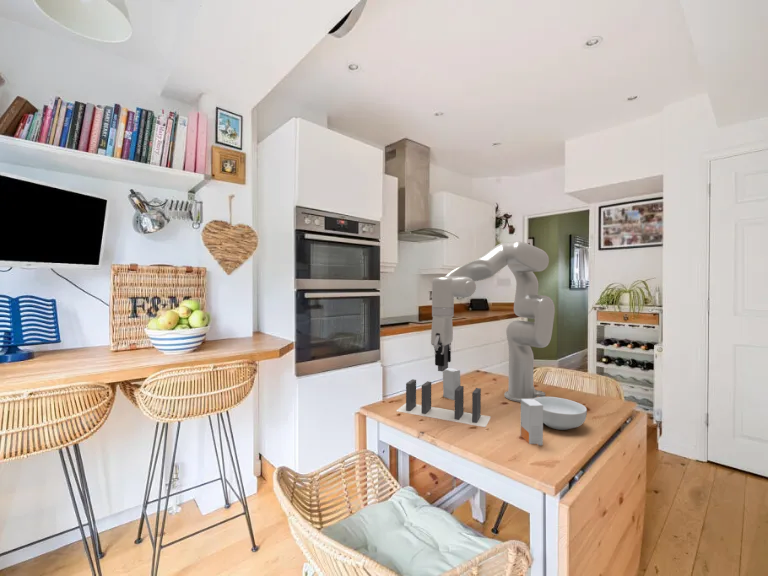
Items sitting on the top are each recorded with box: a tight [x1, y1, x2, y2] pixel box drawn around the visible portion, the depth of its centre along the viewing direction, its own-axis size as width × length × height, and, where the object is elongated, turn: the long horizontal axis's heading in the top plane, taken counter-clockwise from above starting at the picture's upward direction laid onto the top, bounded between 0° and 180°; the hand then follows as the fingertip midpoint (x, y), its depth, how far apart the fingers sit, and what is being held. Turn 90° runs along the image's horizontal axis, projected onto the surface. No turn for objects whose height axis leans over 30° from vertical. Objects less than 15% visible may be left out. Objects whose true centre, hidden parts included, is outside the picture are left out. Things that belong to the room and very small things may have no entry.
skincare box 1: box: [442, 367, 461, 401], centre depth 146 cm, size 6×4×12 cm
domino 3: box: [437, 343, 449, 372], centre depth 126 cm, size 2×6×10 cm, turn 151°
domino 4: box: [454, 385, 465, 420], centre depth 125 cm, size 2×6×10 cm, turn 154°
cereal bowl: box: [534, 396, 588, 431], centre depth 120 cm, size 17×17×7 cm
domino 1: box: [405, 379, 417, 411], centre depth 133 cm, size 2×6×10 cm, turn 154°
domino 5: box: [471, 387, 482, 423], centre depth 123 cm, size 2×6×10 cm, turn 154°
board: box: [395, 402, 492, 428], centre depth 128 cm, size 32×10×1 cm, turn 64°
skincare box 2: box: [519, 399, 544, 446], centre depth 108 cm, size 6×4×12 cm
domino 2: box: [421, 380, 432, 414], centre depth 131 cm, size 2×6×10 cm, turn 154°
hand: (443, 363), depth 126 cm, fingers closed on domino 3, 5 cm apart
